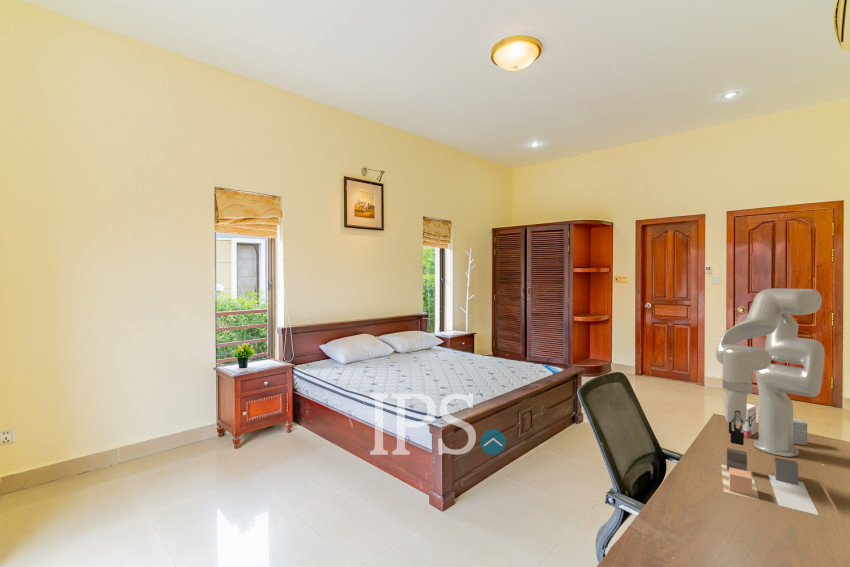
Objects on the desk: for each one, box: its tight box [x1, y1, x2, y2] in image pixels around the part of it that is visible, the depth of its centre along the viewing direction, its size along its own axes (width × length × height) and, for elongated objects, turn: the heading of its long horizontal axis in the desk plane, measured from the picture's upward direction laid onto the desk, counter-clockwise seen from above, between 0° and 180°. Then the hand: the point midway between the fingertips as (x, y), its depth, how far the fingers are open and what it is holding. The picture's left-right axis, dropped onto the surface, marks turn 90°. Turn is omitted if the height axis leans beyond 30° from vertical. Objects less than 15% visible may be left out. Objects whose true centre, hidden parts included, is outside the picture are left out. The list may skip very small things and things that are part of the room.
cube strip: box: [720, 447, 760, 501], centre depth 121 cm, size 20×8×7 cm, turn 145°
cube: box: [729, 467, 752, 496], centre depth 116 cm, size 5×5×5 cm
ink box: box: [743, 402, 757, 439], centre depth 159 cm, size 8×5×12 cm, turn 123°
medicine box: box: [793, 418, 808, 446], centre depth 151 cm, size 8×4×9 cm, turn 71°
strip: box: [768, 457, 819, 516], centre depth 114 cm, size 20×8×7 cm, turn 145°
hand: (735, 438), depth 127 cm, fingers open, 9 cm apart
